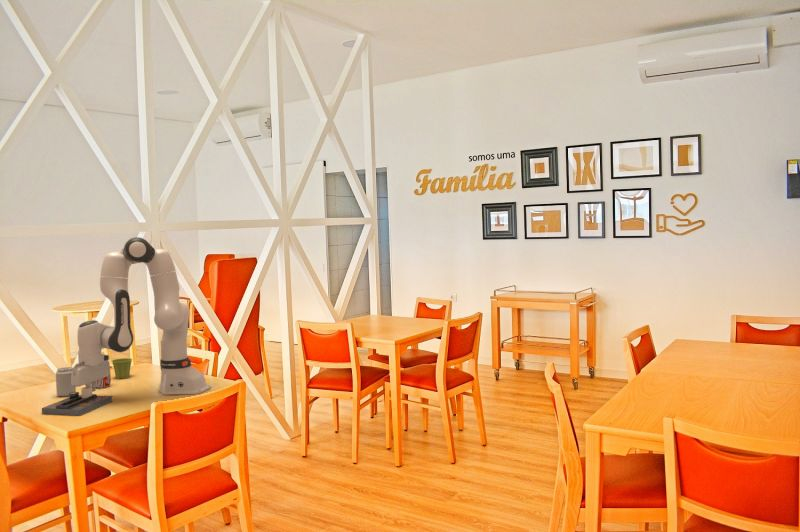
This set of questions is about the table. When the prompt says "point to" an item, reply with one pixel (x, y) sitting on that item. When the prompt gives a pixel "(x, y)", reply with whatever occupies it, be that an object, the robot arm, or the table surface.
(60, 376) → the can
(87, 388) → the fader
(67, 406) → the console
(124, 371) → the plant pot
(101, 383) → the soda can
